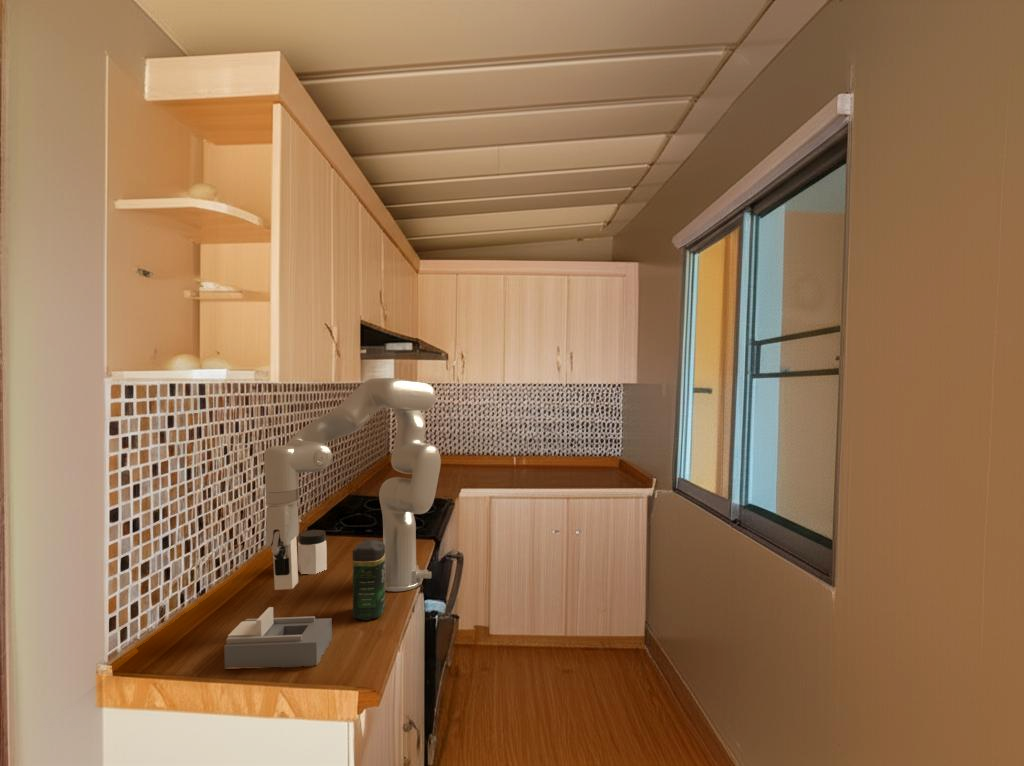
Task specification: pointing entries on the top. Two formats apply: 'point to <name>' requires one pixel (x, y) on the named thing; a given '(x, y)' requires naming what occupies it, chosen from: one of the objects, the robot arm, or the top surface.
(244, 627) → the shutter
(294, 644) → the socket block
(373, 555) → the coffee jar
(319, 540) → the jar
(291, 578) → the plug
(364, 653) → the top surface
